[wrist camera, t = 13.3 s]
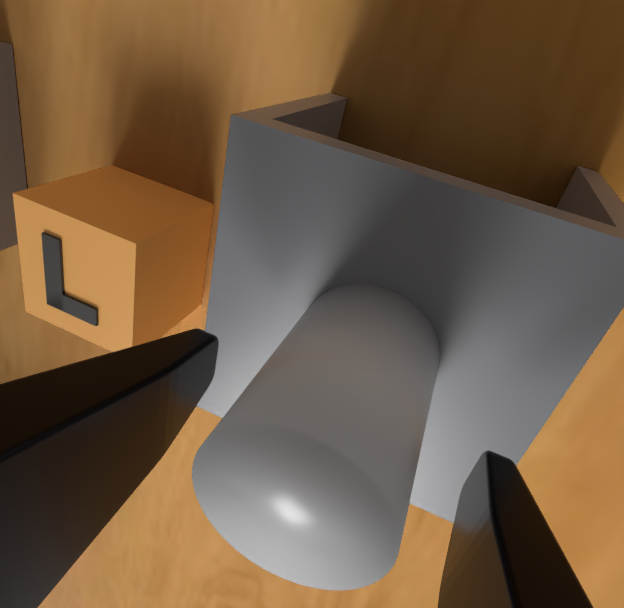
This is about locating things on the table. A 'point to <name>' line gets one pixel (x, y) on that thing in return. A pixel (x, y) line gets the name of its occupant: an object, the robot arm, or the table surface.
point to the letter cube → (112, 255)
